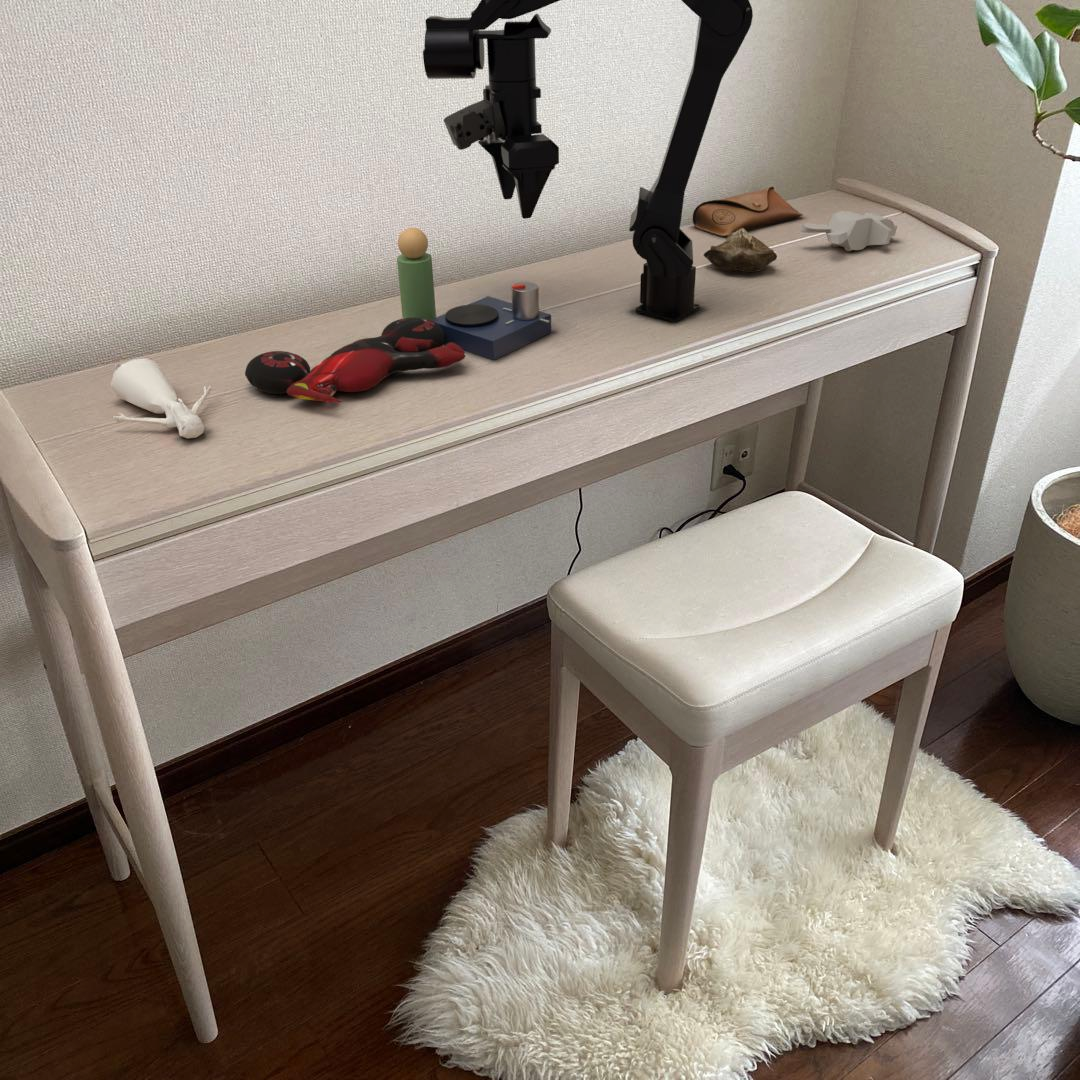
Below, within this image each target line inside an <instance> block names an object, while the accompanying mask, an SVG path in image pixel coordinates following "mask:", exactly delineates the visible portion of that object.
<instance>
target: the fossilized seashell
mask: <svg viewBox="0 0 1080 1080" xmlns="http://www.w3.org/2000/svg"><path fill="white" fill-rule="evenodd" d="M703 257H704V258H705V259H707V260H708V262H710V264H711V265H712V266H713V267H715V268H716V269H717V270H721V271H727V272H733V271H742V272H747V273H755V272H759V271H762V270H764V269H765V268H766V267H767V266H769V265H770V264H772V263H773V262H775V261H776V260H777V258H778V256H777V253H776V252H775V251H774V249H772V248H770V247H769V246H768V245H767V244H765V243H764V242H763V241H761V240H760V239H758V237H755V236H754V235H752V234H750V233H749V232H748V230H747V231H746V230H745V229H744V228H740V229H738V230H737V231H736V232H734V233H730V234H729V235H728V236H726V238H725V240H724V241H722V242H721V243H720V244H718V245H711V246H710V249H708V250H706V251H705V252H704V253H703Z"/></svg>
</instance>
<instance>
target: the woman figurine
mask: <svg viewBox="0 0 1080 1080" xmlns="http://www.w3.org/2000/svg"><path fill="white" fill-rule="evenodd" d="M206 387H207V386H206V385H204V387H203V392H204V393H203V394H202V396H201V397H200V399H198V400H197V401H196V402H194V404H193V406H192V407H191V408H189V407H188V406H187V405H186V404H185V403H184V401H183V399H182V398H180V397H178V396H177V393H176V391H175V389H174V387H173V386H172V384H171V383H170V381H169V379H168V377H167V375H166V373H165V372H164V370H163V369H162V368H161V367H160V366H159V365H158V364H157V363H156V362H155V361H154V360H153V359H148V358H144V357H143V358H142V357H141V358H136V357H135V358H133V359H131V360H129V361H127V362H124V363H122V364H121V365H120V363H119V362H117V363H115V365H114V371H113V374H112V378H111V383H110V388H111V390H112V391H113V393H114V394H115V396H116V397H117V398H119V399H121V400H123V401H125V402H128V403H130V404H132V405H134V406H136V407H138V408H141V409H143V410H146V411H148V412H151V413H153V414H165V416H166V417H165V418H160V417H159V418H158V417H127V416H126V415H125V414H123V413H120V412H118V413H117V414H118V415H119V416H118V415H117V416H115V415H112V416H111V417H112V418H111V420H113V421H114V422H115V421H116V422H118V423H126V422H127V423H140V424H152V425H159V426H160V425H161V426H165V427H166V428H168V429H169V428H177V430H178V434H179V437H183V438H185V439H197V438H199V436H201V435H203V433H204V432H205V425H204V423H203V421H202V419H201V418H200V417H199V415H198V414H197V413H198V411H199V410H200V407H201V406H203V404H204V402H205V400H206V399H207V397H208V396H209V395H210V394H211V391H212V387H211V385H209V386H208V387H207V388H206Z"/></svg>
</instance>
